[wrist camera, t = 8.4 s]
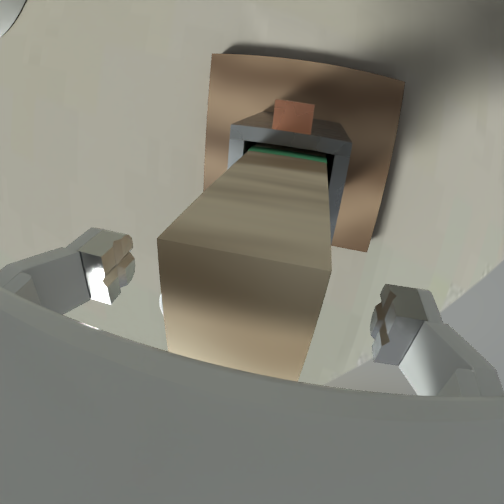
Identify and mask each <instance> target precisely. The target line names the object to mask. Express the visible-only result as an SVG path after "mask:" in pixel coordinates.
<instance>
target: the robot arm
mask: <svg viewBox="0 0 504 504" xmlns="http://www.w3.org/2000/svg"><path fill="white" fill-rule="evenodd" d="M25 1H26V0H0V37H1V36H2V35H3V34H4V33H5V32H6V31H7V30H8V29H9V28H10V26H11V25H12V24H13V22H14V21H15V19H16V18H17V16H18V14H19V12H20V11H21V9H22V7H23V5H24V3H25ZM132 248H133V243H132V238H131V237H130V236H129V235H127V234H123V233H118V232H114V231H109V230H105V229H100V228H90V229H89V230H88V231H86V232H85V233H84V234H82V235H81V236H80V237H78V238H77V239H76V240H75V241H73V242H72V243H71V244H69V245H68V246H67V247H66V248H63V247H61V248H58V249H55V250H51V251H48V252H45V253H42V254H39V255H35V256H32V257H29V258H26V259H23V260H20V261H17V262H14V263H11V264H8V265H6V266H5V267H4V268H2V269H1V270H0V504H504V391H503V388H502V385H501V382H500V380H499V377H498V374H497V371H496V369H495V368H494V367H493V366H492V365H491V364H490V363H489V362H488V361H487V360H486V359H485V358H484V357H483V356H481V355H480V354H479V353H478V352H477V351H476V350H475V349H474V348H473V347H472V346H471V345H470V344H469V343H468V342H467V341H465V340H464V339H463V338H462V337H461V336H460V335H459V334H458V333H457V332H456V331H455V330H454V329H452V328H451V327H450V326H449V325H448V324H444V323H443V321H442V318H441V315H440V313H439V310H438V308H437V305H436V303H435V300H434V298H433V295H432V293H431V292H430V291H429V290H424V289H417V288H410V287H403V286H397V285H390V284H385V285H384V287H383V289H382V291H381V294H380V297H381V303H379V304H378V305H377V306H375V309H374V312H373V314H372V319H371V324H370V332H371V336H372V337H373V338H374V339H375V340H374V343H373V345H372V351H373V360H374V362H378V363H384V364H391V365H398V366H399V368H400V370H401V371H402V373H403V374H404V376H405V377H406V378H407V380H408V381H409V383H410V384H411V386H412V387H413V389H414V390H415V392H416V393H417V395H405V394H389V393H379V392H368V391H360V390H352V389H343V388H336V387H329V386H322V385H316V384H310V383H304V382H298V381H292V380H286V379H281V378H276V377H271V376H266V375H261V374H256V373H251V372H247V371H242V370H238V369H233V368H229V367H225V366H221V365H216V364H212V363H208V362H204V361H201V360H197V359H193V358H189V357H186V356H182V355H178V354H175V353H171V352H168V351H165V350H161V349H158V348H154V347H151V346H148V345H145V344H142V343H138V342H135V341H132V340H129V339H126V338H123V337H120V336H117V335H115V334H112V333H109V332H106V331H103V330H100V329H98V328H95V327H92V326H90V325H87V324H84V323H82V322H79V321H77V320H74V319H72V318H69V317H67V316H64V315H63V314H65V313H67V312H69V311H71V310H72V309H74V308H76V307H78V306H80V305H82V304H84V303H86V302H87V301H89V300H91V299H93V300H97V301H100V302H104V303H107V304H112V303H113V301H114V300H115V299H116V298H117V297H118V295H119V294H120V293H121V289H120V288H121V287H123V286H126V285H128V284H129V282H130V281H131V280H132V277H133V275H134V272H135V259H134V257H133V256H132V254H131V253H130V251H131V250H132Z"/></svg>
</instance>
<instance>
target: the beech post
mask: <svg viewBox="0 0 504 504" xmlns="http://www.w3.org/2000/svg"><path fill="white" fill-rule="evenodd" d="M157 247H158V261H159V273H160V284H161V295H162V304H163V314H164V322H165V330H166V338H167V346H168V352H171V353H175V354H178V355H182V356H186V357H189V358H193V359H197V360H201V361H204V362H208V363H212V364H216V365H221V366H225V367H229V368H233V369H238V370H242V371H247V372H251V373H256V374H261V375H266V376H271V377H276V378H281V379H286V380H292V381H298V379H299V376H300V373H301V370H302V368H303V365H304V362H305V359H306V355H307V352H308V349H309V346H310V343H311V340H312V337H313V334H314V330H315V327H316V324H317V320H318V317H319V314H320V310H321V307H322V304H323V300H324V297H325V293H326V290H327V286H328V282H329V279H330V275H331V271H332V267H331V232H330V210H329V192H328V177H327V158H326V153H324V152H318V151H313V150H307V149H301V148H295V147H289V146H282V145H275V144H268V143H261V142H258V143H257V144H255V145H254V146H252V147H251V148H250V149H249V150H248V152H246V153H245V154H244V155H243V156H242V157H241V158H240V159H239V160H238V161H236V162H235V163H234V164H233V165H232V166H231V167H230V168H229V169H228V170H227V171H226V172H224V173H223V174H222V175H221V176H220V177H219V178H218V179H217V180H216V181H215V182H214V183H213V184H212V185H211V186H209V187H208V188H207V189H206V190H205V191H204V192H203V193H202V194H201V195H200V196H199V197H198V198H197V199H196V200H195V201H194V202H193V203H192V204H191V205H190V206H189V207H188V208H187V209H186V210H185V211H184V212H183V213H182V214H181V215H180V216H179V217H178V218H177V219H176V220H175V221H174V222H173V223H172V224H171V225H170V226H169V227H168V228H167V229H166V230H165V231H164V232H163V233H162V234H161V235H160V236H159V237H158V238H157Z"/></svg>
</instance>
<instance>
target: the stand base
mask: <svg viewBox="0 0 504 504" xmlns="http://www.w3.org/2000/svg"><path fill="white" fill-rule="evenodd" d="M404 86H405V82H404V81H400V80H397V79H393V78H389V77H385V76H382V75H378V74H373V73H369V72H365V71H360V70H356V69H351V68H346V67H341V66H335V65H330V64H324V63H318V62H311V61H304V60H297V59H289V58H280V57H269V56H257V55H241V54H212V60H211V71H210V84H209V97H208V111H207V127H206V145H205V165H204V190H203V192H204V191H205V190H206V189H207V188H208V187H209V186H211V185H212V184H213V183H214V182H215V181H216V180H217V179H218V178H219V177H220V176H221V175H222V174H223V173H224V172H226V171H227V167H228V153H229V140H230V127H231V124H233V123H235V122H237V121H240V120H242V119H245V118H247V117H250V116H252V115H255V114H257V113H260V112H262V111H266V112H274V107H275V99H281V100H289V101H296V102H302V103H309V104H315V108H314V115H313V118H314V119H320V120H326V121H331V122H337V123H341V125H342V127H343V128H344V130H345V131H346V133H347V135H348V136H349V138H350V139H351V141H352V143H353V144H352V149H351V155H350V160H349V165H348V170H347V176H346V181H345V185H344V190H343V195H342V200H341V204H340V209H339V214H338V218H337V223H336V227H335V231H334V236H333V240H332V244H331V246H336V247H341V248H347V249H352V250H357V251H362V252H367V250H368V247H369V244H370V240H371V237H372V233H373V230H374V226H375V222H376V219H377V215H378V211H379V208H380V204H381V200H382V196H383V192H384V188H385V184H386V179H387V175H388V171H389V166H390V162H391V157H392V153H393V148H394V143H395V138H396V133H397V128H398V122H399V117H400V111H401V105H402V99H403V92H404Z"/></svg>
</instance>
